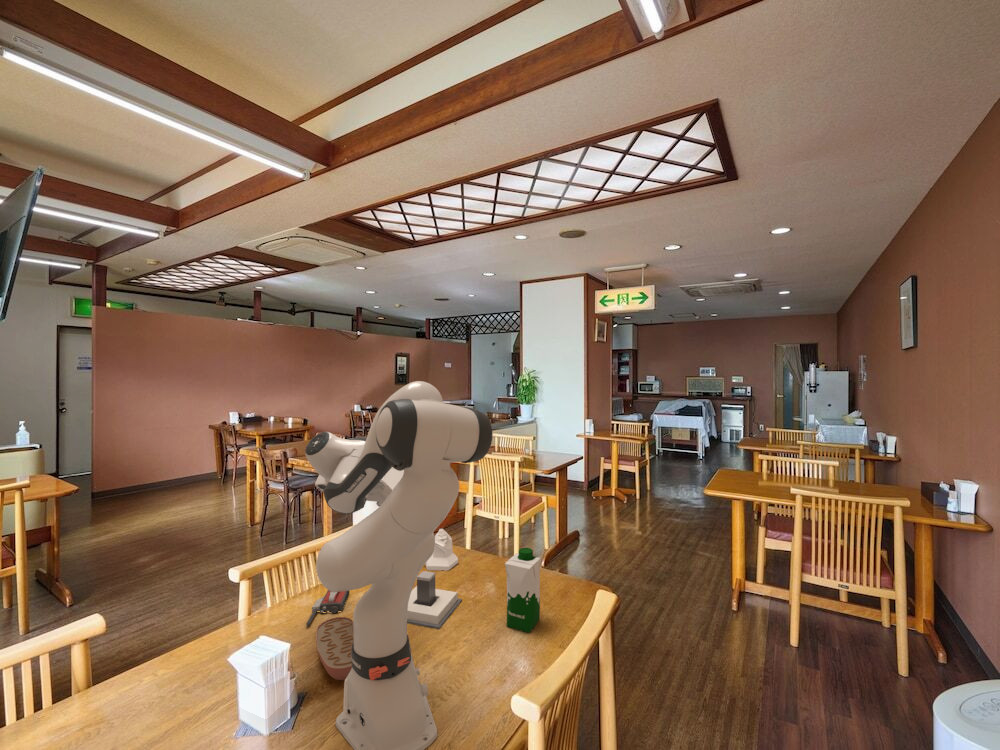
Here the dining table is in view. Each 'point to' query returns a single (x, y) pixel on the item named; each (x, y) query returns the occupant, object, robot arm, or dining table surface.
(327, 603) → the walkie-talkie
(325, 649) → the anatomical model
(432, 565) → the white statue
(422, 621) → the socket
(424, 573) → the plug
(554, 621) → the dining table surface
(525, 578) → the milk carton
